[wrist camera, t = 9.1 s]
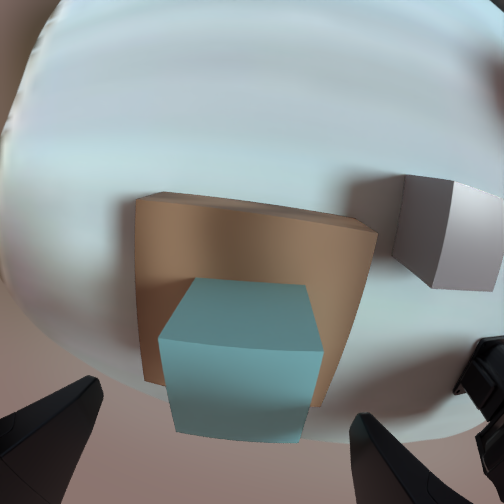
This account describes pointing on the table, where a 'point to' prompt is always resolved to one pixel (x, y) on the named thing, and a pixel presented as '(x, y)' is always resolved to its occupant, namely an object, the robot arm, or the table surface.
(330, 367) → the walnut base block
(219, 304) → the teal cube
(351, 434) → the robot arm
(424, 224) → the gray cube
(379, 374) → the table surface
